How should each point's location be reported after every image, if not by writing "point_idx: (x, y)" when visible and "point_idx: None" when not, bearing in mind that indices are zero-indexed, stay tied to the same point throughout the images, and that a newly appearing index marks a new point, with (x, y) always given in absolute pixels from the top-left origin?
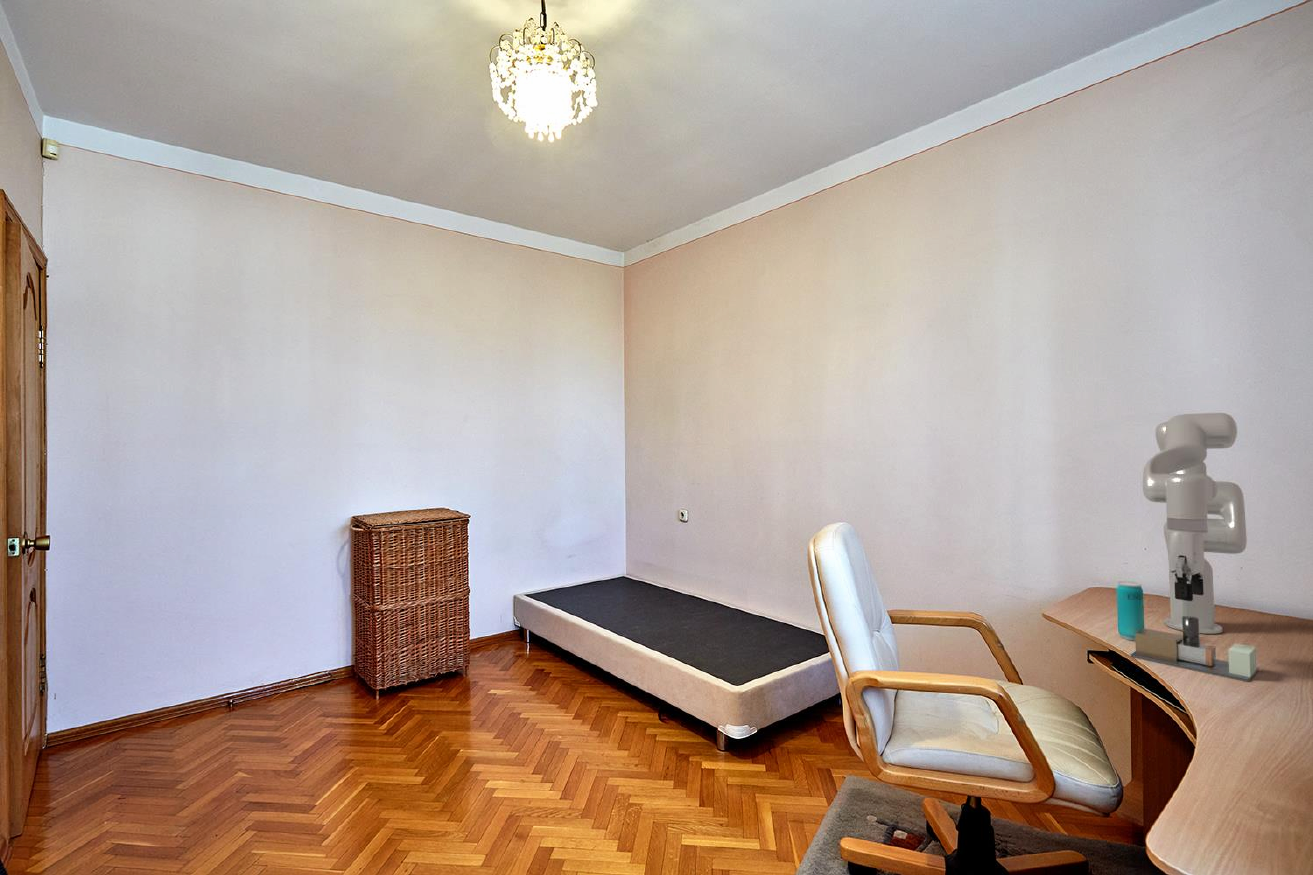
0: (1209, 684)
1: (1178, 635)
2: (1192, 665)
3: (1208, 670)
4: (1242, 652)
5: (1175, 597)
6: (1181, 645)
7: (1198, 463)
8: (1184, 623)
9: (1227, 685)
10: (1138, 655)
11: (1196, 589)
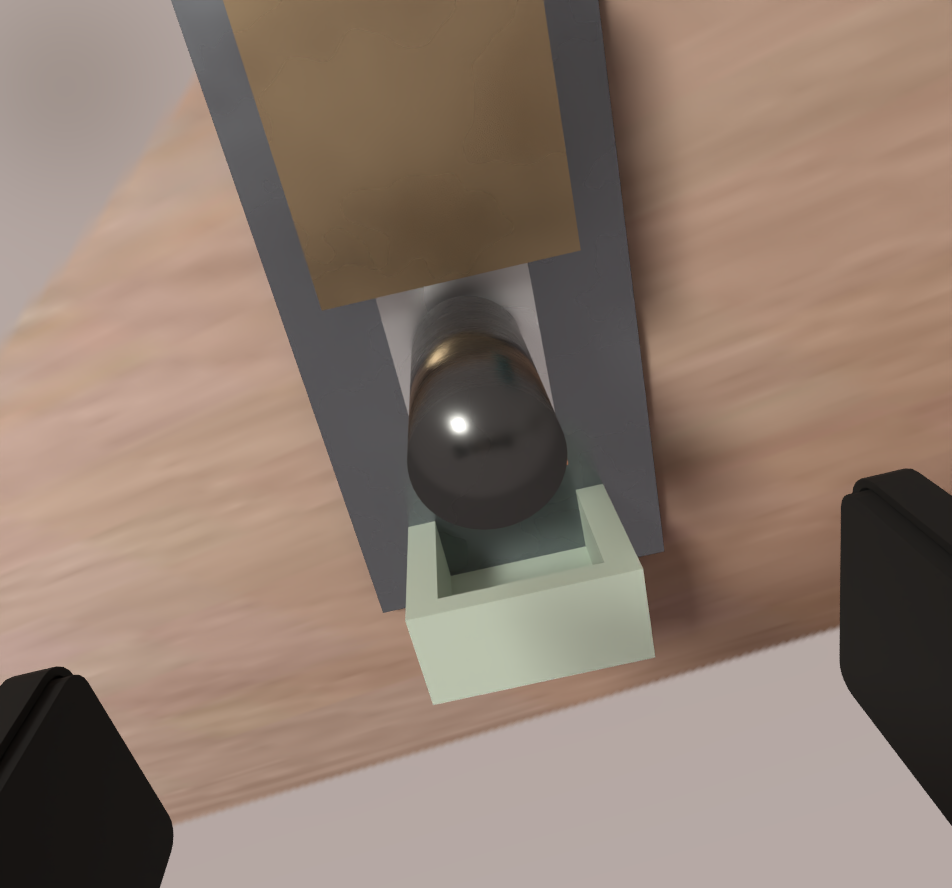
0: (131, 541)
1: (536, 231)
2: (349, 366)
3: (337, 458)
4: (429, 676)
5: (9, 687)
6: (382, 315)
7: None
8: (413, 405)
9: (214, 584)
10: (199, 21)
11: (894, 687)
